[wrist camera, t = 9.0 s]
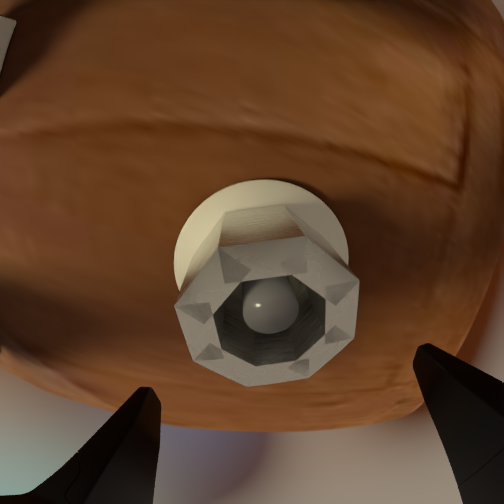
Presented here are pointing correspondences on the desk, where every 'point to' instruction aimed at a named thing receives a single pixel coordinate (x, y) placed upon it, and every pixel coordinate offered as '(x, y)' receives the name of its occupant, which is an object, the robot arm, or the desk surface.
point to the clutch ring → (260, 267)
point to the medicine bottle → (5, 36)
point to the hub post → (269, 289)
